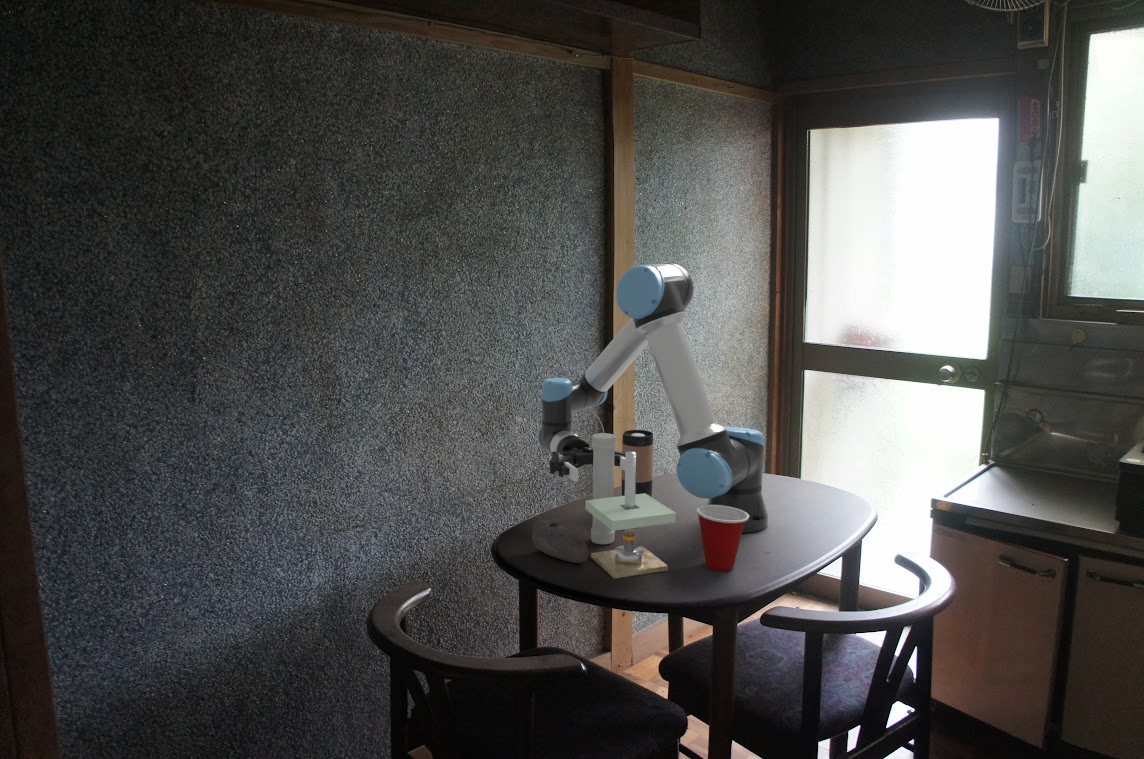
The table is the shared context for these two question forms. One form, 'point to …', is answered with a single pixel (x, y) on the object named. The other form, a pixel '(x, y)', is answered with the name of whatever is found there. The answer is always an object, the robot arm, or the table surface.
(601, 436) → the pipe
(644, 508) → the pale mint square tile
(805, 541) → the table surface
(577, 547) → the perforated stone tool
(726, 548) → the plastic cup
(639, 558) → the post stand
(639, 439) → the travel mug
